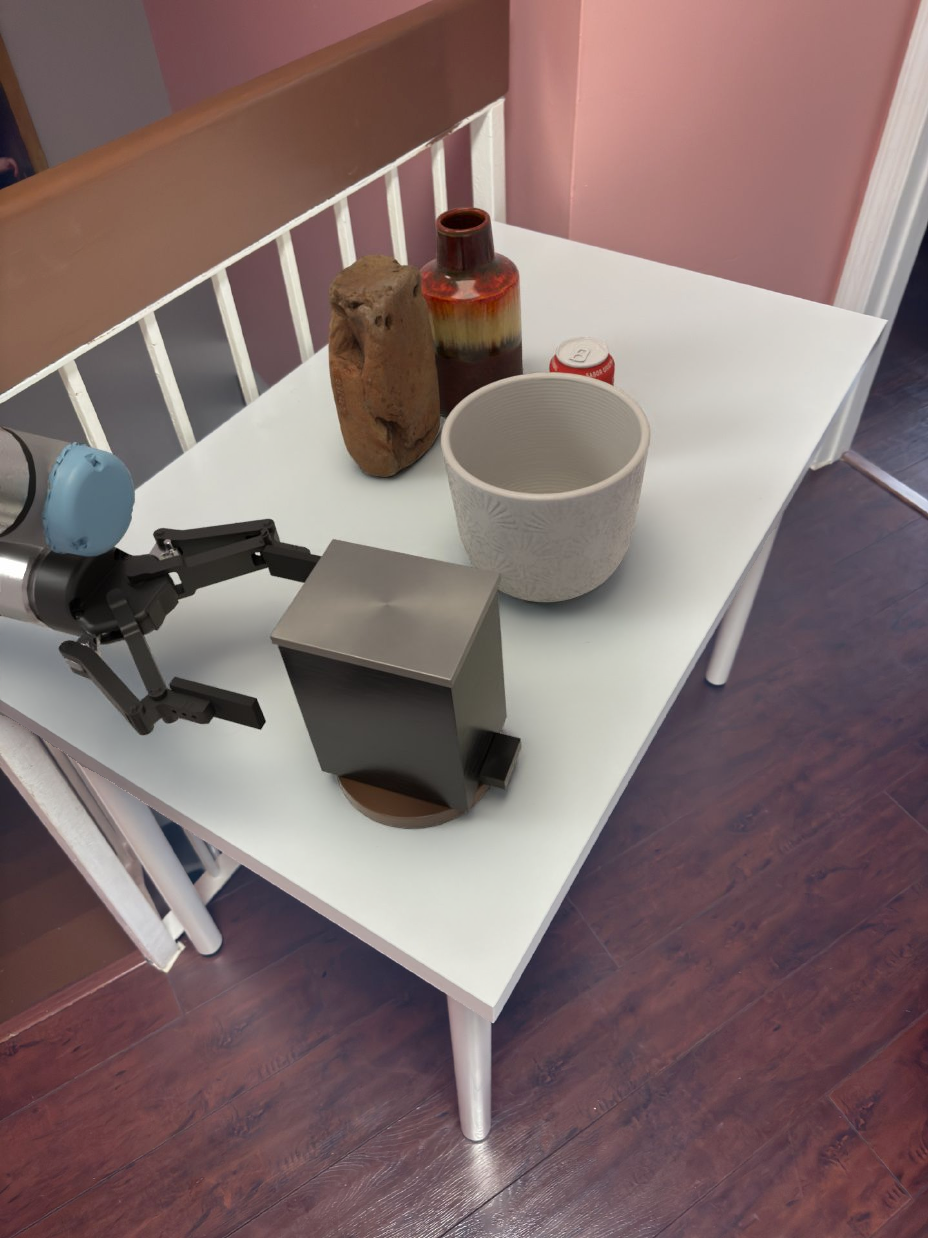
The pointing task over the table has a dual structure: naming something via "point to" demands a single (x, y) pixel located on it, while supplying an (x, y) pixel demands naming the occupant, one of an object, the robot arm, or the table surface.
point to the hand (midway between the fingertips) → (304, 641)
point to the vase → (471, 307)
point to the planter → (546, 480)
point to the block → (383, 364)
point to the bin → (401, 672)
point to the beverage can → (584, 359)
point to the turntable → (399, 805)
